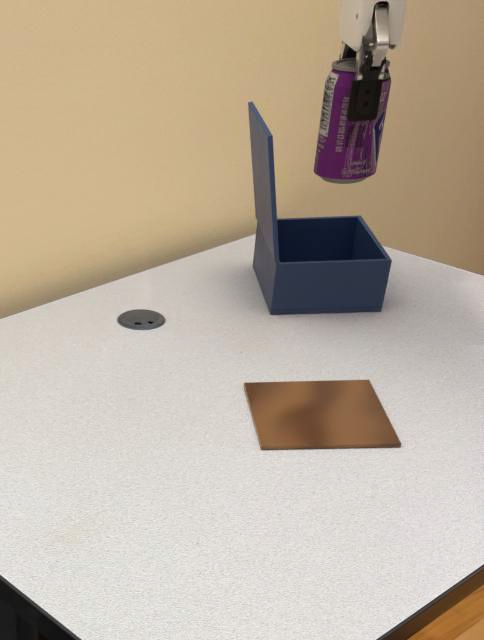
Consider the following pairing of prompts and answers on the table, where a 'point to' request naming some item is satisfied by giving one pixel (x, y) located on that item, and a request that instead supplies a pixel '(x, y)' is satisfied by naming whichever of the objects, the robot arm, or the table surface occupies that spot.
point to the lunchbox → (322, 266)
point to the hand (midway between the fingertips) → (353, 110)
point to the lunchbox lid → (264, 179)
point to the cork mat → (319, 415)
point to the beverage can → (348, 129)
